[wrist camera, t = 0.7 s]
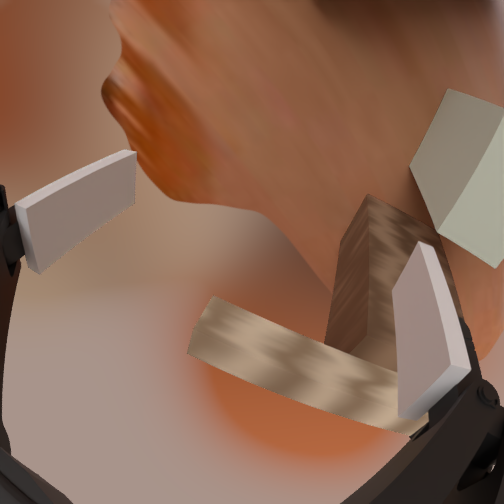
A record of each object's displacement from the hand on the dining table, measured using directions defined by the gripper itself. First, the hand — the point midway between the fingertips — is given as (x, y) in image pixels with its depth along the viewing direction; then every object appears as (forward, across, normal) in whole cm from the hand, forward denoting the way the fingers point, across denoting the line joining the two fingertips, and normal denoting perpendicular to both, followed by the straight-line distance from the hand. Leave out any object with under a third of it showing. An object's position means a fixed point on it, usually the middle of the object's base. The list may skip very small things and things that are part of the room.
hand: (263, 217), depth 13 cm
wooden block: (+37, +16, -15) cm, 43 cm away
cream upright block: (+35, +19, +4) cm, 41 cm away
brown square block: (+8, +11, -16) cm, 21 cm away
